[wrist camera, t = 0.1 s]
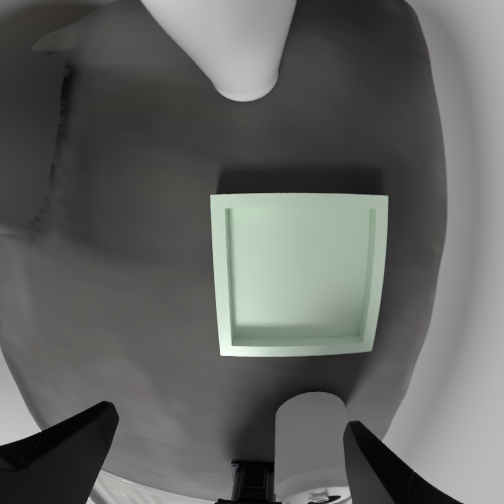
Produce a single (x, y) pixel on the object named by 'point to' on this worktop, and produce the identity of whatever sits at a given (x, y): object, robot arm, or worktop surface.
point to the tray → (298, 272)
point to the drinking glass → (230, 40)
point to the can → (311, 450)
